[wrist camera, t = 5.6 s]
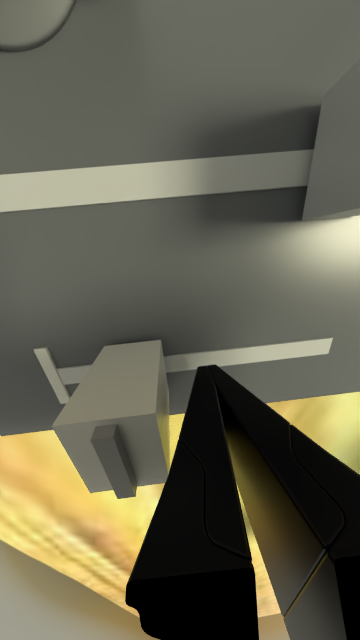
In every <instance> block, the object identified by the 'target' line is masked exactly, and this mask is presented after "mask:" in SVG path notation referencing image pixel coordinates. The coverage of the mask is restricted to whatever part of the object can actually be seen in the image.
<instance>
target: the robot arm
mask: <svg viewBox="0 0 360 640" xmlns="http://www.w3.org/2000/svg"><path fill="white" fill-rule="evenodd" d="M236 482H237V485H238V488H239V491H240V494H241V497H242V500H243V503H244V506H245V509H246V512H247V514H248V517H249V520H250V523H251V526H252V529H253V532H254V535H255V538H256V541H257V544H258V546H259V549H260V552H261V555H262V558H263V561H264V564H265V567H266V570H267V573H268V575H269V578H270V581H271V584H272V587H273V590H274V593H275V596H276V599H277V602H278V605H279V607H280V610H281V613H282V615H283V616H284V622H285V625H286V628H287V631H288V634H289V637H290V640H360V475H359V474H358V473H357V472H355V471H354V470H352V469H351V468H350V467H348V466H347V465H345V464H344V463H342V462H341V461H340V460H338V459H337V458H335V457H334V456H333V455H331V454H330V453H328V452H327V451H326V450H324V449H323V448H322V447H320V446H319V445H318V444H317V443H315V442H314V441H313V440H311V439H310V438H309V437H307V436H306V435H305V434H303V433H302V432H301V431H300V430H298V429H297V428H296V427H295V426H293V425H290V423H289V422H288V421H287V420H286V419H284V418H283V417H282V416H281V415H279V414H278V413H277V412H275V411H274V410H273V409H272V408H270V407H269V406H268V405H267V404H265V403H264V402H263V401H262V400H260V399H259V398H258V397H257V396H255V395H254V394H253V393H251V392H250V391H249V390H248V389H246V388H245V387H244V386H243V385H241V384H240V383H239V382H238V381H236V380H235V379H234V378H232V377H231V376H230V375H229V374H227V373H226V372H225V371H224V370H222V369H221V368H220V367H219V366H217V365H216V364H213V365H207V366H206V365H205V366H198V367H197V371H196V374H195V378H194V382H193V386H192V390H191V394H190V397H189V401H188V405H187V409H186V413H185V416H184V420H183V424H182V428H181V432H180V435H179V440H178V443H177V446H176V450H175V454H174V457H173V461H172V464H171V467H170V471H169V474H168V477H167V480H166V482H165V485H164V488H163V491H162V494H161V497H160V499H159V502H158V505H157V507H156V510H155V512H154V515H153V518H152V520H151V523H150V526H149V528H148V531H147V533H146V536H145V539H144V541H143V544H142V546H141V549H140V552H139V554H138V557H137V559H136V562H135V565H134V567H133V570H132V573H131V575H130V578H129V580H128V583H127V586H126V599H125V601H126V604H127V605H128V606H130V607H133V608H135V609H136V610H137V611H138V613H139V616H140V623H141V627H142V629H143V631H144V632H145V633H146V634H148V635H150V636H151V637H154V638H157V639H160V640H259V633H258V616H257V599H256V582H255V571H254V567H253V564H252V563H251V562H252V557H251V552H250V547H249V542H248V538H247V533H246V528H245V523H244V518H243V514H242V509H241V504H240V499H239V494H238V490H237V485H236Z"/></svg>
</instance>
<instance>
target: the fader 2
mask: <svg viewBox="0 0 360 640" xmlns="http://www.w3.org/2000/svg"><path fill="white" fill-rule="evenodd" d="M359 215H360V59H359V60H358V61H357V62H356V63H355V64H354V65H353V66H352V67H351V68H350V69H349V70H348V71H347V72H346V73H345V74H344V75H343V76H342V77H341V78H340V79H339V80H338V81H337V82H336V83H335V84H334V85H333V86H332V87H331V88H330V89H329V90H328V91H327V92H326V93H325V94H324V95H323V99H322V105H321V111H320V117H319V123H318V129H317V134H316V140H315V146H314V152H313V158H312V164H311V170H310V176H309V182H308V187H307V193H306V199H305V205H304V211H303V217H302V221H306V220H317V219H327V218H338V217H349V216H359Z"/></svg>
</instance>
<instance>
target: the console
mask: <svg viewBox="0 0 360 640" xmlns="http://www.w3.org/2000/svg"><path fill="white" fill-rule="evenodd" d="M359 59H360V0H0V435H1V436H6V435H14V434H22V433H30V432H38V431H46V430H54V429H53V428H52V425H53V423H54V422H55V420H56V419H57V417H58V416H59V414H60V413H61V411H62V410H63V408H64V406H65V405H66V403H67V402H68V400H69V399H70V397H71V396H72V394H73V393H74V391H75V390H76V388H77V387H78V385H79V384H80V382H81V381H82V379H83V378H84V376H85V375H86V373H87V372H88V370H89V369H90V367H91V366H92V364H93V363H94V361H95V360H96V358H97V357H98V355H99V354H100V352H101V351H102V349H103V348H104V346H109V345H118V344H127V343H136V342H145V341H154V340H161V343H162V350H163V356H164V363H165V369H166V376H167V382H168V389H169V415H175V414H183V413H186V409H187V405H188V401H189V397H190V394H191V390H192V386H193V382H194V378H195V374H196V371H197V367H198V366H205V365H206V366H207V365H213V364H216V365H217V366H219V367H220V368H221V369H222V370H224V371H225V372H226V373H227V374H229V375H230V376H231V377H232V378H234V379H235V380H236V381H238V382H239V383H240V384H241V385H243V386H244V387H245V388H246V389H248V390H249V391H250V392H251V393H253V394H254V395H255V396H257V397H258V398H259V399H260V400H262V401H263V402H264V403H271V402H279V401H287V400H295V399H303V398H311V397H319V396H327V395H335V394H343V393H351V392H359V391H360V215H359V216H349V217H338V218H327V219H317V220H306V221H302V217H303V211H304V205H305V199H306V193H307V187H308V182H309V176H310V170H311V164H312V158H313V152H314V146H315V140H316V134H317V129H318V123H319V117H320V111H321V105H322V99H323V95H324V94H325V93H326V92H327V91H328V90H329V89H330V88H331V87H332V86H333V85H334V84H335V83H336V82H337V81H338V80H339V79H340V78H341V77H342V76H343V75H344V74H345V73H346V72H347V71H348V70H349V69H350V68H351V67H352V66H353V65H354V64H355V63H356V62H357V61H358V60H359Z"/></svg>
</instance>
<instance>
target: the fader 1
mask: <svg viewBox="0 0 360 640" xmlns="http://www.w3.org/2000/svg"><path fill="white" fill-rule="evenodd" d="M52 428H53V429H54V431H55V433H56V435H57V436H58V438H59V440H60V441H61V443H62V445H63V447H64V448H65V450H66V452H67V454H68V455H69V457H70V459H71V460H72V462H73V464H74V466H75V467H76V469H77V471H78V473H79V474H80V476H81V478H82V479H83V481H84V483H85V485H86V486H87V488H88V490H89V492H90V493H93V492H101V491H108V490H114V492H115V494H116V496H117V498H118V499H121V498H128V497H135V496H136V489H137V486H145V485H152V484H160V483H165V482H166V480H167V477H168V474H169V471H170V448H169V389H168V382H167V376H166V369H165V363H164V356H163V350H162V343H161V340H154V341H145V342H136V343H127V344H118V345H109V346H104V348H103V349H102V351H101V352H100V354H99V355H98V357H97V358H96V360H95V361H94V363H93V364H92V366H91V367H90V369H89V370H88V372H87V373H86V375H85V376H84V378H83V379H82V381H81V382H80V384H79V385H78V387H77V388H76V390H75V391H74V393H73V394H72V396H71V397H70V399H69V400H68V402H67V403H66V405H65V406H64V408H63V410H62V411H61V413H60V414H59V416H58V417H57V419H56V420H55V422H54V423H53V425H52Z"/></svg>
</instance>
